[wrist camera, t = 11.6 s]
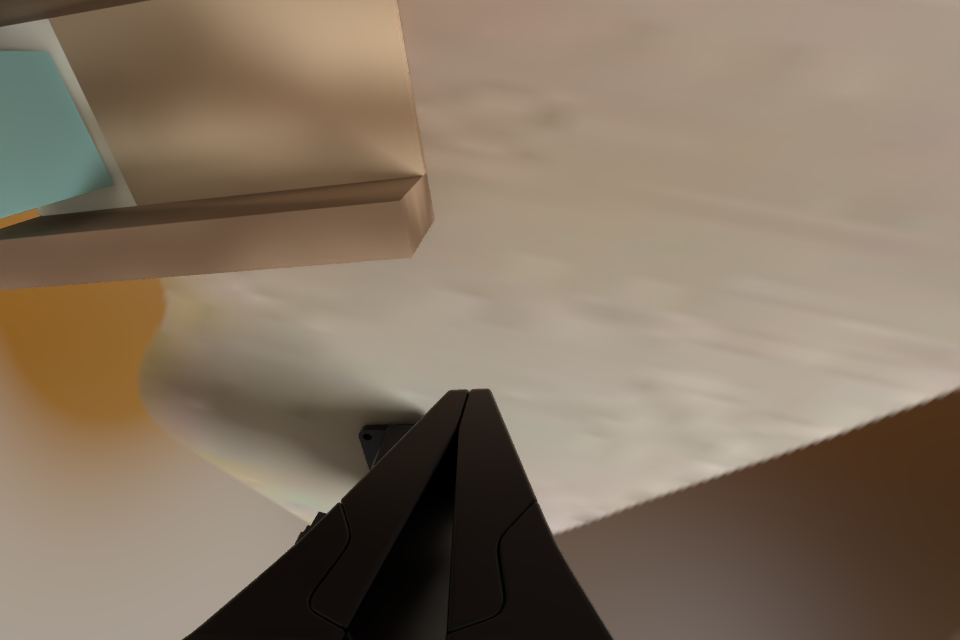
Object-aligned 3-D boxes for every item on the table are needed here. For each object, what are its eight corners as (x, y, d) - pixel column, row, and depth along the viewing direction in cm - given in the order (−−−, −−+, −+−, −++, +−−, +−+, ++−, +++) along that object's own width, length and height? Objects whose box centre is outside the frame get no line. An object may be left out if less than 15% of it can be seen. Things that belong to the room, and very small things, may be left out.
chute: (434, 219, 20) (411, 257, 16) (75, 252, 23) (-18, 291, 19) (377, -116, 15) (322, -177, 11) (-82, -23, 17) (-254, -46, 14)
